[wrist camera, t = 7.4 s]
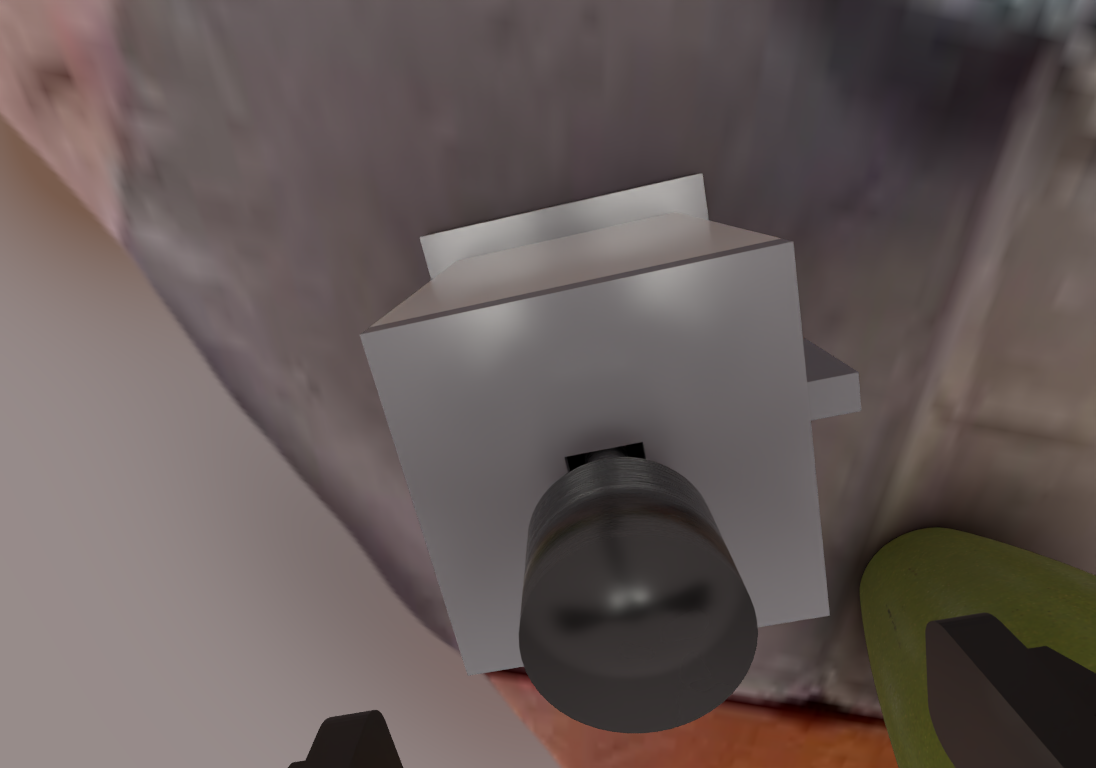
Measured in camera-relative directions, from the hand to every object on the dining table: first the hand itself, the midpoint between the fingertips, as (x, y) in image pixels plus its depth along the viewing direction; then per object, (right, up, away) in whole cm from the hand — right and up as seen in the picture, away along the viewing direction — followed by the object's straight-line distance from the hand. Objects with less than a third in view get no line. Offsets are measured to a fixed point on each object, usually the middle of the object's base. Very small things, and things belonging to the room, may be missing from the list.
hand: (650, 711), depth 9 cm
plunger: (0, +6, +19) cm, 20 cm away
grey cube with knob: (0, +7, +22) cm, 23 cm away
